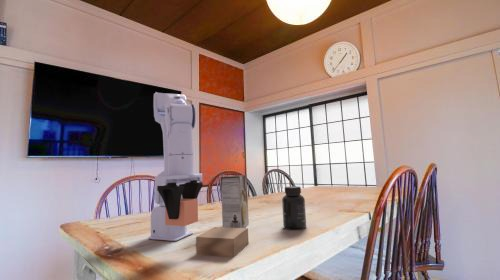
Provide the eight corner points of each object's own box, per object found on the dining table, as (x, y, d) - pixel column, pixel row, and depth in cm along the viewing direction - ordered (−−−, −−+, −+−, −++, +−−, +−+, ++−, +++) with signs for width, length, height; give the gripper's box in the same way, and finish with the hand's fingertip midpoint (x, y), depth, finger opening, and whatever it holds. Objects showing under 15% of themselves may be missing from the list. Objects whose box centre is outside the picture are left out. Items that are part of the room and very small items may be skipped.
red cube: (165, 225, 54) (165, 201, 54) (179, 220, 58) (179, 198, 59) (184, 226, 52) (184, 201, 53) (197, 221, 57) (197, 198, 57)
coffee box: (230, 223, 83) (228, 175, 85) (249, 223, 82) (247, 174, 84) (222, 230, 74) (220, 176, 76) (242, 230, 73) (240, 175, 75)
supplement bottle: (278, 228, 74) (276, 187, 76) (292, 223, 79) (290, 185, 80) (297, 231, 70) (294, 188, 71) (311, 226, 74) (308, 186, 75)
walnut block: (196, 255, 55) (196, 236, 55) (215, 243, 63) (214, 227, 63) (234, 258, 52) (233, 238, 52) (248, 245, 60) (247, 228, 61)
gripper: (174, 153, 49) (175, 224, 47) (212, 155, 62) (213, 210, 61) (146, 155, 51) (146, 222, 50) (188, 156, 65) (189, 210, 63)
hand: (181, 216), depth 55 cm, fingers closed on red cube, 5 cm apart
